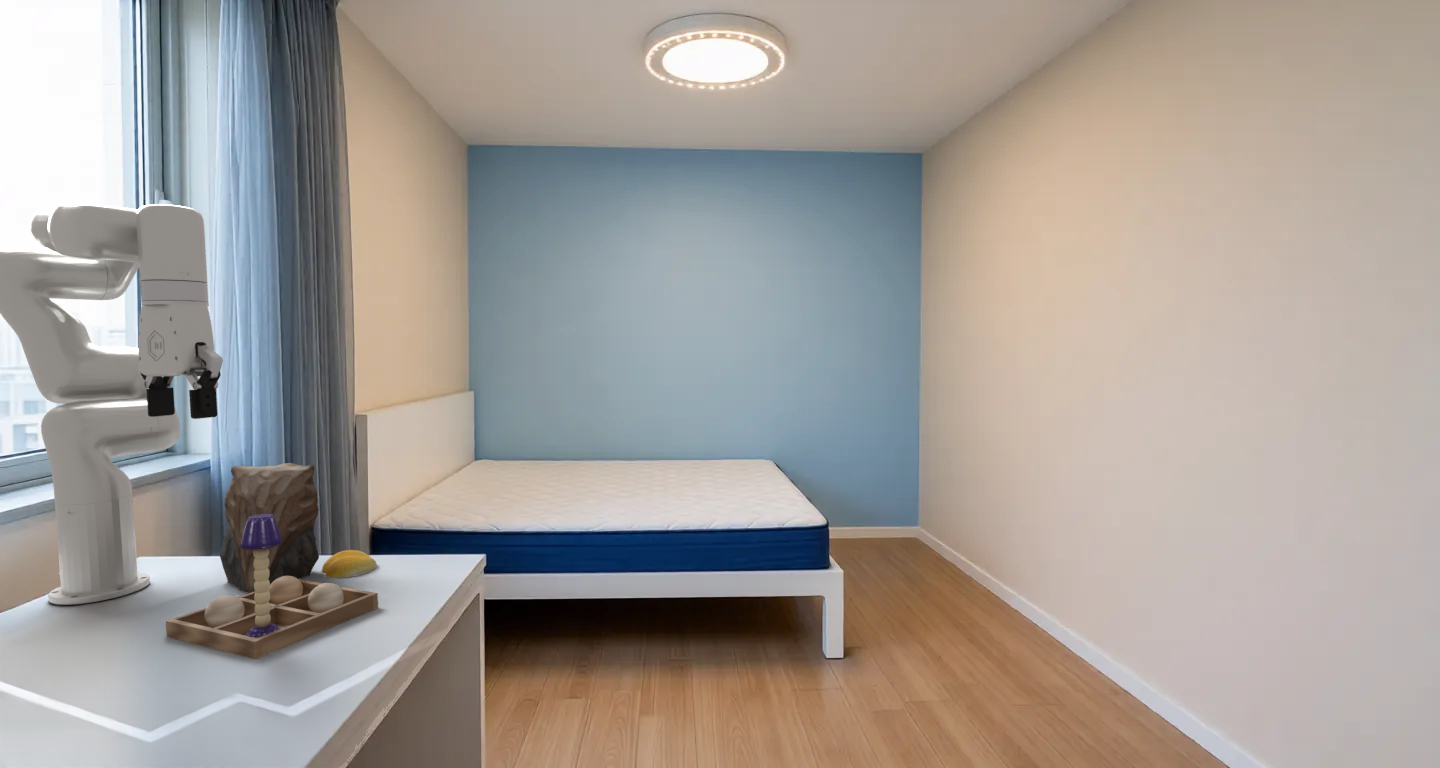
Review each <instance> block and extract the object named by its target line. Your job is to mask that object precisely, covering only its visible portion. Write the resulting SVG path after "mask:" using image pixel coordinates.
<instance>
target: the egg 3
mask: <svg viewBox="0 0 1440 768" xmlns="http://www.w3.org/2000/svg"><path fill="white" fill-rule="evenodd" d="M340 587H341V586H340ZM340 587H339V585H338V584H336V583H333V582H324V583H323V584H320V585H318V586H317V587H315V588H314V589H313V590H312V591H311V593H310V595H309V597H308V606H309V608H310V610H311V611H312V612H315V613H323V612H325V611H328V610H330V609H333V608H335V607H338V606H340V605H342V603H343V600H344V594H343V591H342V589H341V588H340Z"/></svg>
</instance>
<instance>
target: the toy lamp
mask: <svg viewBox="0 0 1440 768" xmlns="http://www.w3.org/2000/svg"><path fill="white" fill-rule="evenodd" d="M281 543H282V538H281V535H280V532H279V529H278V526H277V523H276V520H275V517H274V516H273V515H272V514H260V515H254V516H250V517H249V518H248V520H247V522H246V526H245V530H244V533H243V537H242V541H241V548H242V549H245V550H253V555H254V557H255V559H254V563H253V564H254V568H255V571H254V579H255V580H256V581H255V583H254V590H255V592H256V593H255V596H254V600H255V603H256V605H255V613H256V618H255V624H256V626H254V627H253V628H251V629H250V630H249V631H248V632H247V634H246V636H249V637H253V638H259V637H262V636H264V635H267V634H269V633H272V632H274V631H277V630H279V629H280V628H279V627H278V626H277V625H275V624H273V623H270V621H271V616H270V614H269V612H270V603H269V600H270V592H269V591H268V590H269V588H270V582H269V580H268V578H269V575H270V572H269V569H268V566H269V558H268V555H269V548H271V547H275V546H278V545H280V544H281Z"/></svg>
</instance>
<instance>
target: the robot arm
mask: <svg viewBox="0 0 1440 768" xmlns="http://www.w3.org/2000/svg"><path fill="white" fill-rule="evenodd" d="M29 225H30V226H29V229H30V232H31V234H32V236H33V237H34V239H35V240H36V241H37V242H38V243H39V244H40V245H42V246H43V247H41V246H40V247H38V246H14V247H6V248H2V249H0V315H1V317H2V318H3V319H4V320H5V322H6V323H7V324H8V325H9V326H10V328H11V329H12V330H13V332H14V333H15V335H16V336H17V337H18V339H19V341H20V343H21V347H22V350H23V352H24V355H25V358H26V361H27V363H28V366H29V368H30V372H31V374H32V377H33V380H34V383H35V384H36V387H37V389H38V391H39V392H40V394H41V395H42V396H43V398H45V399H46V400H47V401H49V402H52V403H54V404H60V405H57V406H56V407H53V408H51V409H50V410H49V411H47V412H46V413H45V415H44V416H43V418H42V419H41V425H40V428H41V429H40V430H41V436H42V440H43V444H44V448H45V451H46V455H47V457H48V461H49V466H50V471H51V478H52V484H53V485H52V486H53V496H54V509H55V521H56V523H55V524H56V536H57V550H58V563H59V565H58V566H59V570H58V575H60V577H59V578H60V579H59V580H60V586H59V587H56V588H54V589H52V590H51V591H50V592H49V593H48V594H47V598H48V602H49V603H51V604H54V605H64V606H67V605H82V604H90V603H96V602H101V601H106V600H111V599H115V598H119V597H122V596H127V595H129V594H131V593H136V592H138V591H139V590H142V589H144V588H145V587H147V586H149V584H151V581H150V580H151V578H150V575H149V574H147V573H143V572H138V561H137V560H138V559H137V557H138V556H137V544H136V532H135V531H136V530H135V515H134V512H135V511H134V499H133V487H132V482H131V480H130V478H129V476H128V475H127V474H126V473H125V472H124V471H123V470H122V469H120V468H119V467H118V466H117V465H116V464H114V463H113V462H112V460H111V459H112V458H118V457H121V456H122V457H123V456H129V455H130V456H131V455H139V454H147V453H154V452H159V451H164V450H167V449H169V448H171V447H173V446H174V445H175V444H176V443H177V442H178V440H179V438H180V434H181V422H180V418H179V414H178V411H177V409H176V406H175V395H174V393H175V391H174V387H170V385H171V384H172V382H173V380H174V378H175V377H180V376H183V375H184V376H185V378H186V379H187V380H188V382H189V384H190V386H191V387H192V389H189V390H188V393H189V394H188V395H189V408H190V409H189V411H190V418H191V419H193V420H195V419H196V420H199V419H208V418H216V417H217V416H218V401H217V399H218V398H217V389H218V387H219V382H218V381H219V380H220V378H221V370H222V366H223V361H224V360H223V357H222V356H221V355H220V354H218V353H217V352H216V351H215V340H214V334H213V326H212V320H211V316H210V312H209V307H210V305H209V304H210V303H209V289H208V288H209V287H208V270H207V269H208V268H207V253H206V251H207V250H206V236H205V235H206V232H205V222H204V218H203V215H202V214H201V213H200V212H199V211H198V210H197V209H194V208H192V207H188V206H184V205H183V206H182V205H175V204H164V203H163V204H160V203H159V204H158V203H157V204H156V203H154V204H151V203H150V204H146V205H143V206H140V207H139V208H138V209H136V208H129V207H120V206H113V205H107V204H106V205H105V204H101V203H88V202H87V203H86V202H72V201H58V202H52V203H49V204H45V205H43V206H41V207H40V208H38V209H37V210H36V211H35V212H34V213H33V214H32V217H30V222H29ZM138 271H139V283H140V300H141V303H140V304H141V308H140V313H139V320H138V337H137V339H138V347H131V346H100V345H99V346H98V345H96V344H94V343H93V342H92V340H91V338H90V335H89V333H88V331H87V328H86V326H85V325H84V323H83V322H82V321H81V320H80V319H79V318H78V317H76V316H75V315H74V314H73V313H71V312H69V311H68V310H67V309H65V308H64V307H62V306H60V305H59V304H57V303H55V302H54V301H52V300H51V299H61V300H85V301H86V300H89V301H91V300H92V301H107V300H108V301H109V300H115V299H118V298H119V297H121V296H123V295H124V293H125V292H126V291H127V289H128V287H129V286H130V284H131V283H132V280H133V279H134V277H135V275H136V273H137V272H138ZM198 377H199V378H198Z"/></svg>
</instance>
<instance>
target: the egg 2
mask: <svg viewBox="0 0 1440 768" xmlns="http://www.w3.org/2000/svg"><path fill="white" fill-rule="evenodd" d="M300 580H301V579H300ZM300 580H299V579H297V578H295V577H293V576H282V577H279V578H277V579H276V580H274V581H273V582H272V583H271V585H270V588H269V590H268V591H269V592H270V600H269V601H270V603H271V604H275V605H279V604H282V603H284V602H287V601H290V600H293V599H295V598H298V597H301V596H302V593H303V586H302V583H301V582H300Z"/></svg>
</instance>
